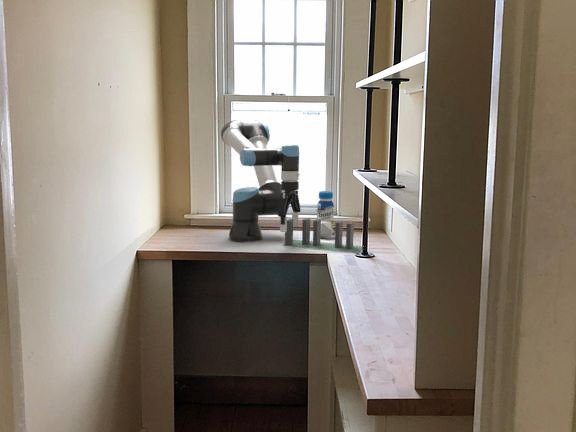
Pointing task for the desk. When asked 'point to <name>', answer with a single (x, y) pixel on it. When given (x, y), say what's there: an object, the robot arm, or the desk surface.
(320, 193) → the beverage bottle
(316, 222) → the domino
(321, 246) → the mat
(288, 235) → the domino
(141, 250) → the desk surface
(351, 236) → the domino
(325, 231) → the die
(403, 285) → the desk surface
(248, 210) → the robot arm
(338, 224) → the domino
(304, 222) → the domino
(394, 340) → the desk surface
